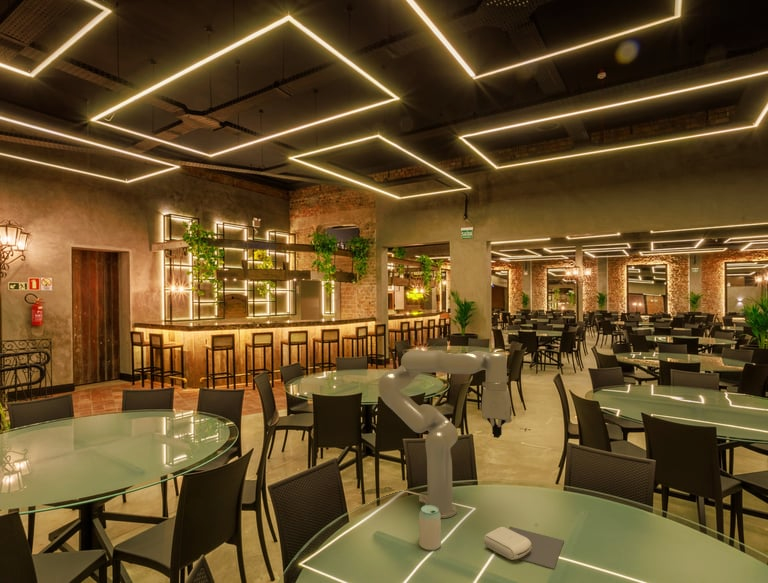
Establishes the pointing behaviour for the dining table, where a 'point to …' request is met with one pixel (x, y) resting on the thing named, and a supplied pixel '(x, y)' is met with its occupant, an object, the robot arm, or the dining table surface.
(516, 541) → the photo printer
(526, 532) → the rubber mat
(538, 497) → the dining table surface
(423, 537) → the can
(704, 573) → the dining table surface
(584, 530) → the dining table surface
